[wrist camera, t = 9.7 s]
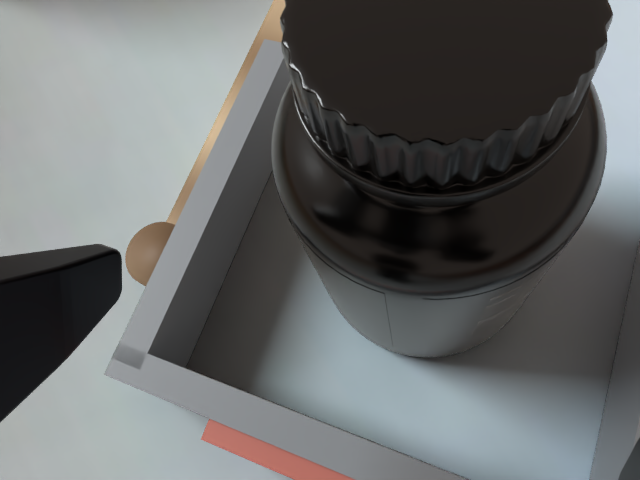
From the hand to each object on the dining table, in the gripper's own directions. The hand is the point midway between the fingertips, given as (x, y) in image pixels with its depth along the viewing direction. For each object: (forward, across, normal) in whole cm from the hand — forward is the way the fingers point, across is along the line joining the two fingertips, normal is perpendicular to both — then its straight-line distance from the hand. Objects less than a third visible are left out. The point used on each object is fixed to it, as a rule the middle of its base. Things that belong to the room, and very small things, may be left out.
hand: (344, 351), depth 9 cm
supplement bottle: (+10, 0, +3) cm, 11 cm away
